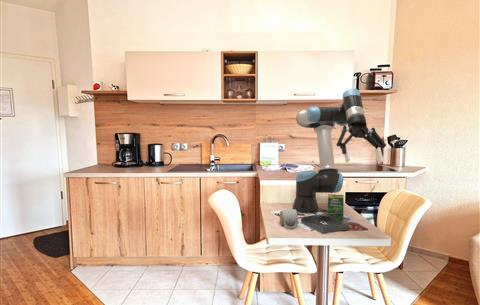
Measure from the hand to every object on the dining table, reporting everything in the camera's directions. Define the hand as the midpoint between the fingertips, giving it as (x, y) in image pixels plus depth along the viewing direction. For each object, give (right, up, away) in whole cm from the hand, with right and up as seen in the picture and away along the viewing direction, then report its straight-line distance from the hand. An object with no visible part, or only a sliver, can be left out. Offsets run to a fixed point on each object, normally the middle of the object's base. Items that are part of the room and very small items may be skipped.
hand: (364, 161), depth 105 cm
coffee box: (0, -32, +33) cm, 46 cm away
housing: (-9, -33, +22) cm, 40 cm away
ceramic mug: (-26, -33, +22) cm, 48 cm away
